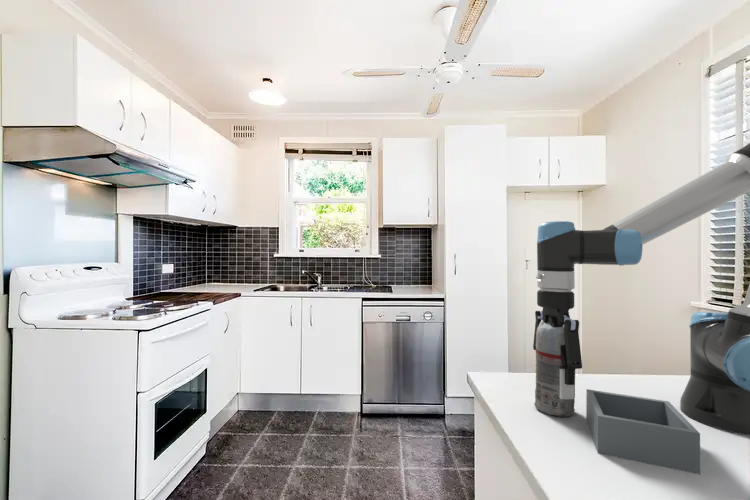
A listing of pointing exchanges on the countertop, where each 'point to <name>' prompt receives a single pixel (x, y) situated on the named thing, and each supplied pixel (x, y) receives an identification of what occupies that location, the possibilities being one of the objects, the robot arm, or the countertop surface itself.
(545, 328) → the white paper tall sack
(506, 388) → the countertop surface
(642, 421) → the bin
